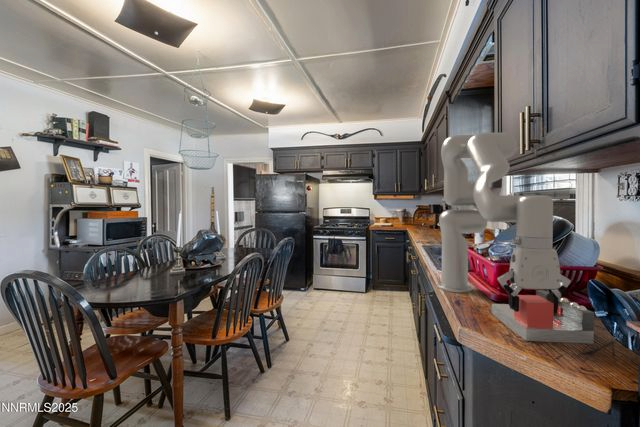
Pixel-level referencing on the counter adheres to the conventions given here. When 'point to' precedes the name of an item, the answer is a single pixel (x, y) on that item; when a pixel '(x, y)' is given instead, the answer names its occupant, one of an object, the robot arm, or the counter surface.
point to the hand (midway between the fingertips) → (532, 310)
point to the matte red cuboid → (535, 311)
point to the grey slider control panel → (567, 323)
